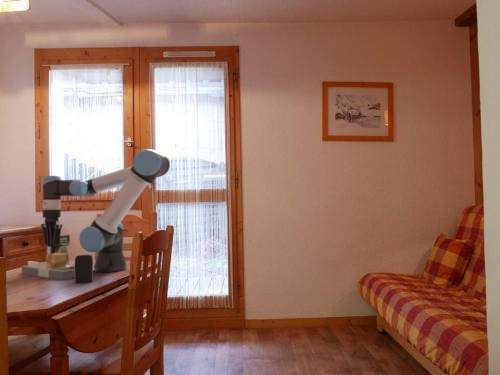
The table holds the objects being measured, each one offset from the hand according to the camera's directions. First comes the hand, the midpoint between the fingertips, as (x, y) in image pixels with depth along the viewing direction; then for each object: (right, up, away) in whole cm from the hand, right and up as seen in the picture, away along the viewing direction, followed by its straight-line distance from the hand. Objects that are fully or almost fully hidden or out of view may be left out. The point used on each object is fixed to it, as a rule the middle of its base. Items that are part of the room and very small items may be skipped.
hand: (51, 260), depth 185 cm
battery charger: (+23, -6, -19) cm, 31 cm away
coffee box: (-7, -7, +21) cm, 23 cm away
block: (+3, -3, -2) cm, 5 cm away
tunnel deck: (+2, -6, -1) cm, 7 cm away
